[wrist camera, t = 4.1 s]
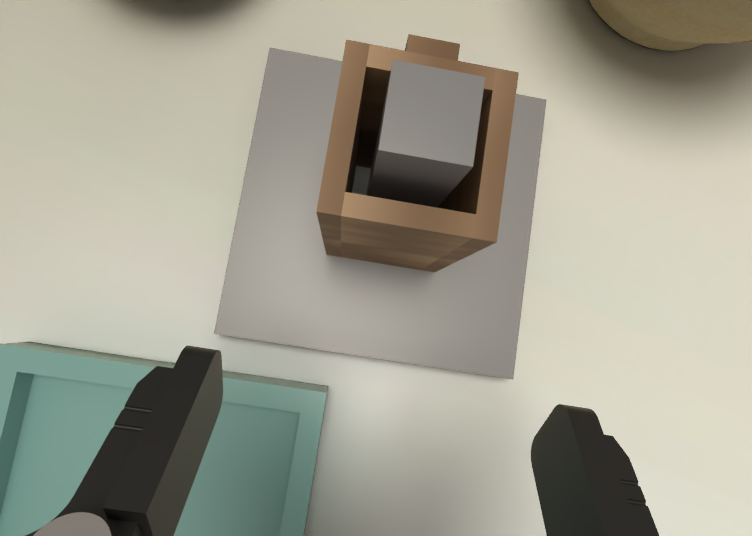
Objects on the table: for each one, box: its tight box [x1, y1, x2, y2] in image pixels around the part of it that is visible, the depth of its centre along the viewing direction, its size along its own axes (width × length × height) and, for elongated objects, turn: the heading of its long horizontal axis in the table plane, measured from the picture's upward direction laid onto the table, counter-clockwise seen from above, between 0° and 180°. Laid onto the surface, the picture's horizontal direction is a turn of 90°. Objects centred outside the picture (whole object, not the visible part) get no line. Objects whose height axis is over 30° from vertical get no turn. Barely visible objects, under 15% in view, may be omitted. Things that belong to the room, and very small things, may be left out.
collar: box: [316, 34, 518, 272], centre depth 18 cm, size 5×6×9 cm
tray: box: [0, 342, 328, 536], centre depth 20 cm, size 14×14×2 cm
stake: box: [214, 48, 546, 379], centre depth 18 cm, size 14×14×12 cm
